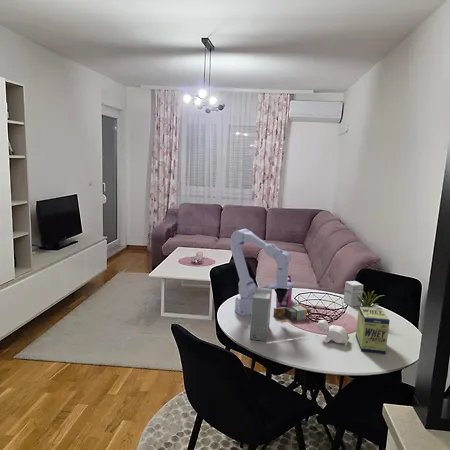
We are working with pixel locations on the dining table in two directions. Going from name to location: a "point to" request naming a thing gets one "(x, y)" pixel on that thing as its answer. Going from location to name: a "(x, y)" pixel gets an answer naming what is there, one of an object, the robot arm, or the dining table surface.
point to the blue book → (301, 312)
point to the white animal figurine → (333, 332)
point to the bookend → (290, 313)
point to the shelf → (280, 313)
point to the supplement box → (352, 293)
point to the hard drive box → (260, 314)
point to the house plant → (369, 300)
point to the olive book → (297, 312)
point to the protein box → (372, 329)
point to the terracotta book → (304, 312)
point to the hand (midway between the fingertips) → (279, 302)
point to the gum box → (285, 297)
